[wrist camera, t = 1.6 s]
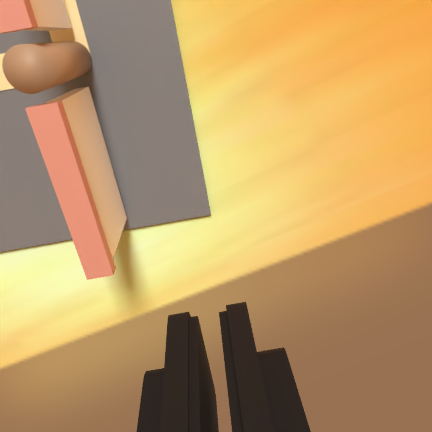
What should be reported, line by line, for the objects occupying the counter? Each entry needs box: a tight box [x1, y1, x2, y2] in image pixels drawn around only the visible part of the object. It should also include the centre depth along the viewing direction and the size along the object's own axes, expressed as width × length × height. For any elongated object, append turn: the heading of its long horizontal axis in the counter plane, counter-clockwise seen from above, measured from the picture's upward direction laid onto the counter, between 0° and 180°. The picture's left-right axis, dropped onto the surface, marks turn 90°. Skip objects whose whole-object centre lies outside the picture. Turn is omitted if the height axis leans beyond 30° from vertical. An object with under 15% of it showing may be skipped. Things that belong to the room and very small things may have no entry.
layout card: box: [0, 0, 211, 252], centre depth 27 cm, size 20×26×1 cm
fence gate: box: [25, 86, 127, 280], centre depth 25 cm, size 10×2×8 cm, turn 9°
